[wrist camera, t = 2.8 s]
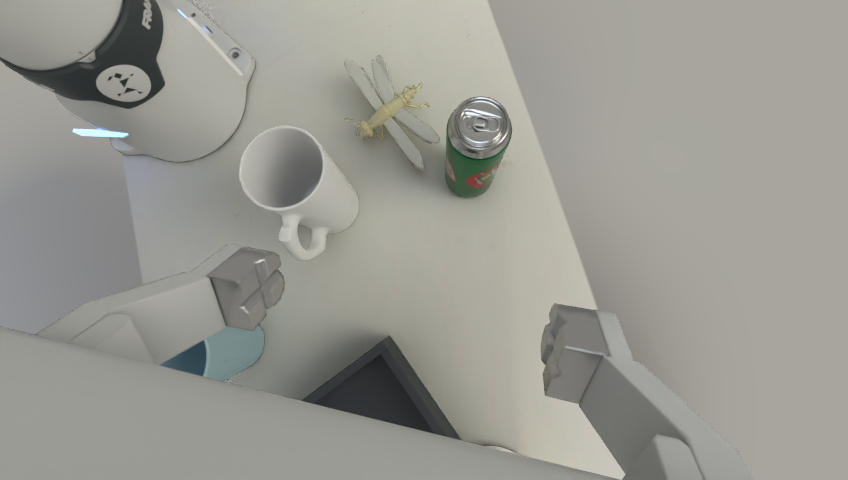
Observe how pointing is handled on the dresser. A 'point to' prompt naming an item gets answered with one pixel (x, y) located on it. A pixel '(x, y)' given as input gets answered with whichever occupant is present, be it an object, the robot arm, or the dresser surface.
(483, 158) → the soda can
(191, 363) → the cup
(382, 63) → the toy
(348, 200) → the mug
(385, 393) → the bin
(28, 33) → the robot arm
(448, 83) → the dresser surface
